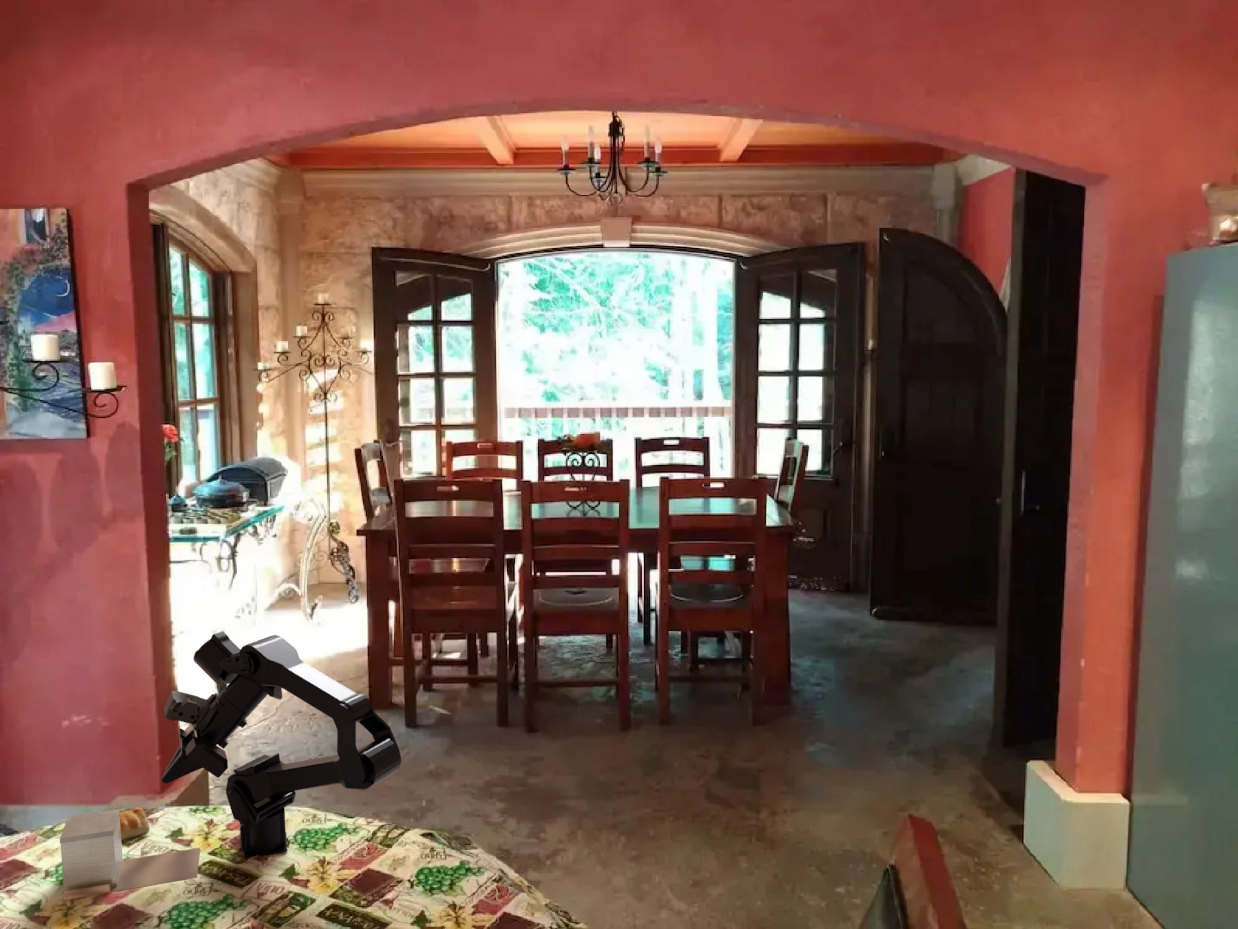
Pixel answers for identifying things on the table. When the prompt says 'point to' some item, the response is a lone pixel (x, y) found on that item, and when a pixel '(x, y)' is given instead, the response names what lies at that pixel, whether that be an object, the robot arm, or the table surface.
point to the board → (148, 872)
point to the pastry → (133, 823)
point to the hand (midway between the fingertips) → (163, 781)
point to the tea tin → (91, 850)
